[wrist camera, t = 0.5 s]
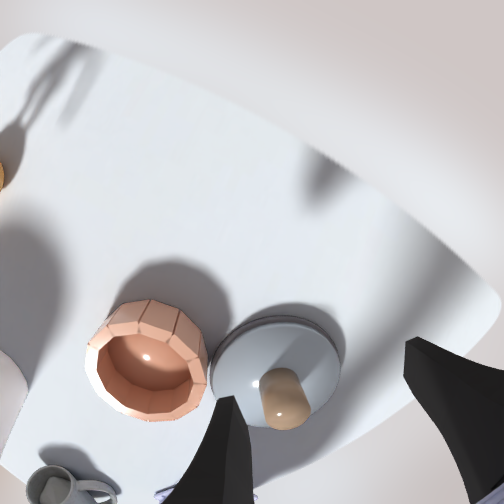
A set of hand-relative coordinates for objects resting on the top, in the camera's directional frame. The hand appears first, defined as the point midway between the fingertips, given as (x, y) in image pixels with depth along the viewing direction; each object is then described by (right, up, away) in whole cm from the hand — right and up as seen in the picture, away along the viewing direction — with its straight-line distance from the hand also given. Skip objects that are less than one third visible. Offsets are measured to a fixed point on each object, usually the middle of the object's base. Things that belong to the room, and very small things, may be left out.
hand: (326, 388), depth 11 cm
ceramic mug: (-25, -23, +13) cm, 37 cm away
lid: (-1, -4, +11) cm, 11 cm away
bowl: (-10, -2, +10) cm, 14 cm away
